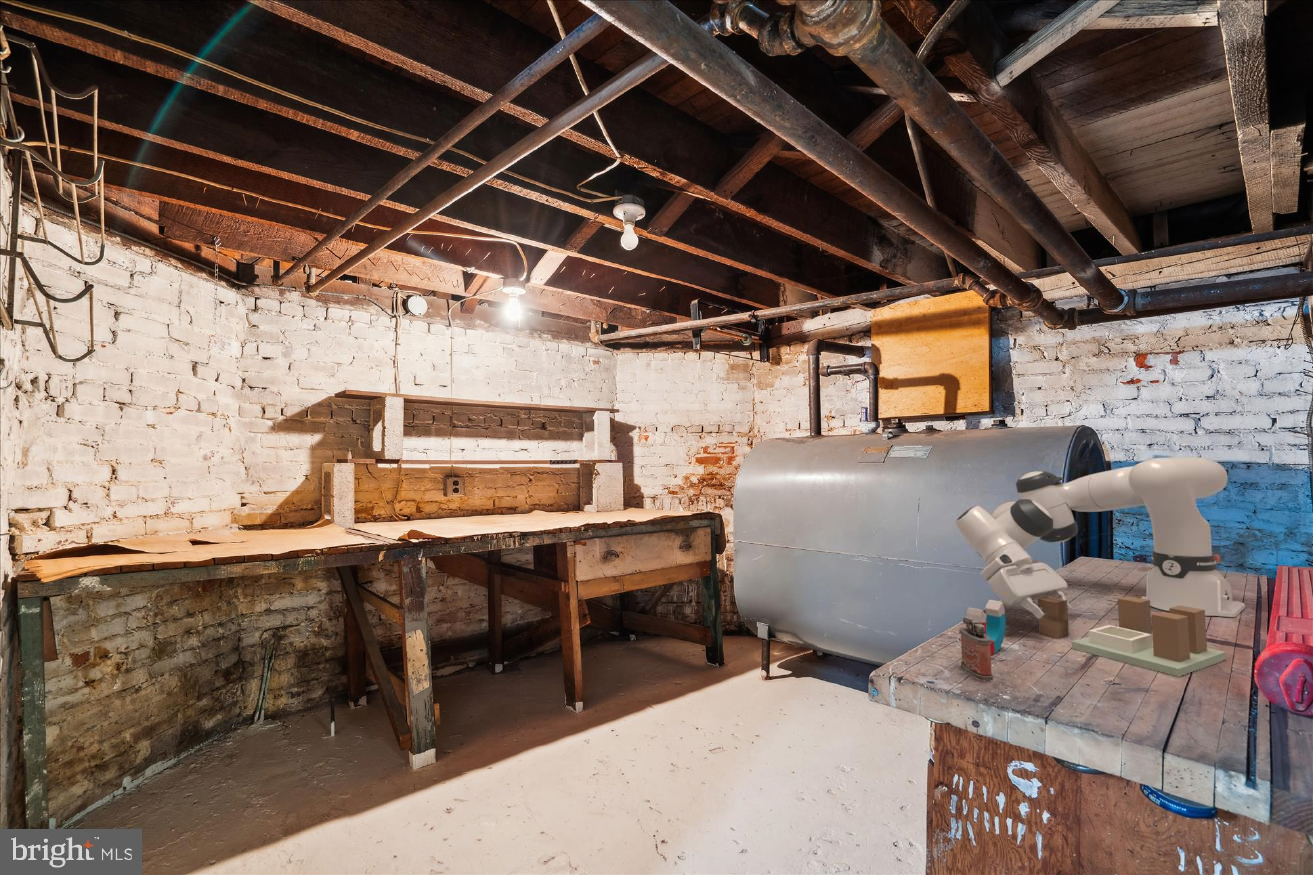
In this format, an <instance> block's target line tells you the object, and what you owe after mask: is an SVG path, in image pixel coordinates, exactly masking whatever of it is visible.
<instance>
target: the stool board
mask: <svg viewBox="0 0 1313 875" xmlns="http://www.w3.org/2000/svg"><path fill="white" fill-rule="evenodd" d="M1117 610H1118V611H1117V612H1118V626H1116V625H1112V624H1111V625H1110V624H1107V625H1103V626H1099V627H1096V628H1092V629H1090V630H1088V636H1087V637H1083V638H1082V637H1081V638H1079V639H1076V640H1072V641H1071V649H1072V650H1076V651H1080V652H1084V653H1088V654H1092V655H1096V656H1099V657H1103V658H1107V659H1109V660H1113V661H1117V662H1120V663H1124V664H1128V665H1132V666H1136V667H1139V668H1143V669H1147V670H1150V669H1152V670H1151V671H1154V670H1156V671H1155V672H1158V671H1160V672H1159V673H1161V672H1164V673H1163V674H1165V673H1168V674H1167V675H1169V674H1170V675H1169V676H1173V675H1175V676H1174V677H1176V676H1178V678H1181V677H1183V676H1182V675H1184V676H1186V675H1188V674H1187V673H1189V674H1191V673H1190V672H1192V673H1194V672H1197V671H1199V669H1200V670H1202V669H1205V668H1208V667H1211V666H1213V665H1215V664H1218V663H1221V662H1223V660H1224V661H1226V660H1227V657H1226V656H1227V655H1226V651H1223V650H1218V649H1214V648H1209V647H1208V643H1207V641H1208V640H1207V624H1206V615H1205V610H1203V609H1197V608H1191V607H1186V606H1180V605H1179V606H1175V607H1172V608H1169V611H1167V612H1166V611H1159V612H1155V613H1152V612H1151V606H1150V600H1146V599H1141V597H1140V598H1139V597H1136V596H1135V597H1133V596H1128V595H1127V596H1123V597H1119V598H1118V597H1117ZM1196 670H1197V671H1196ZM1193 671H1194V672H1193ZM1185 674H1186V675H1185ZM1180 676H1181V677H1180Z"/></svg>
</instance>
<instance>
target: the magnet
mask: <svg viewBox="0 0 1313 875" xmlns="http://www.w3.org/2000/svg"><path fill="white" fill-rule="evenodd" d="M966 610H967V612H966V616H968V617H970V618H972V619H974V620H979V621H980V622H981V624H982V625H983V626H984V629H985V632H984V634H986V635H987V636H988V637H990V638H991V644H990V654H991V655H995V654H997V652H999V651H1000V649H1001V647H1002V644H1003V643H1004V639H1005V632H1006V624H1007V623H1006V621H1007V620H1006V610H1005V607H1004V601H999V600H994V599H989V600H988V601H987V603H986V605H985V607H984V610H985V612H984V611H983V610H982V609H979V608H973V607H967V609H966ZM967 626H968V625H966V624H965V627H967Z"/></svg>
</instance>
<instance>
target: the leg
mask: <svg viewBox="0 0 1313 875" xmlns="http://www.w3.org/2000/svg"><path fill="white" fill-rule="evenodd" d="M1067 603H1068V600H1067V599H1066V600H1063V599H1058V598H1053V597H1051V596H1049V597H1044V598H1039V599H1037V606H1038V607H1039V608H1040V607H1042V608H1043V610H1044V611H1045V612H1046V613H1047V615H1046V616H1044V617H1043V618H1039V619H1038V629H1039V630H1038V631H1039V633H1038V634H1039V635H1041V636H1045V637H1049V638H1052V639H1057V640H1060V639H1063V638H1068V637H1070V634H1069V633H1070V632H1069V614H1068V612H1069V611H1068V610H1067Z"/></svg>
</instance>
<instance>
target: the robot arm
mask: <svg viewBox="0 0 1313 875" xmlns="http://www.w3.org/2000/svg"><path fill="white" fill-rule="evenodd" d="M1228 479H1229V478H1228V473H1227V470H1226V469H1225V468H1224V466H1223V465H1221V464H1220V463H1219V462H1217V461H1215V460H1211V459H1209V458H1204V457H1200V456H1173V457H1172V456H1169V457H1154V458H1151V459H1150V458H1149V459H1148V460H1144V461H1141V462H1139V463H1137V464H1135V465H1133V466H1125V467H1121V468H1114V469H1111V470H1105V471H1101V472H1096V473H1092V474H1088V475H1085V476H1081V477H1078V478H1076V479H1073V480H1071V481H1068V482H1064V483H1062V482H1061V481H1063V480H1064V478H1063V477H1062V476H1059V477H1058V476H1057V475H1055V474H1054V473H1052V472H1048V471H1039V470H1038V471H1036V470H1035V471H1030V472H1027V473H1025V474H1024V475H1022V476H1021V477H1020V478H1018V479H1017V480H1016V482H1015V487H1016V490H1017V491H1016V492H1017V493H1018V494H1019V497H1020V498H1019V499H1018V500H1016V501H1007V502H1004V503H1002V504H1000V505H999V506H998V507H996V508H994V511H992V514H990V513H989V512H988V511H986V510H985V508H983V507H981V506H980V505H976V506H972V507H970V508H968V509H967V510H966V511H964V512H963V513H962V514H961V515H960V516H958V518H957V519H956V521H955V525H956V528H957V529H958V531H959V532H960V533H961V535H962V537H963V539H965V541H966V542H967V544H968V545H969V546H970V547H971V548H972V549H973V550H974V551H975V552H976V553H977V554H978V555H979V556H980V557H981V558H982V559H983V562H984V563H985V564H986V566H985V567H984V569H983V570H981V572H980V573H979V576H980V577H981V578H982V579H983V580H984V581H987V582H988V583H987V584H988V585H989V587H990V588H991V589H992V591H994V593H995V594H996V595H997V596H998V598H1000V600H1002V601H1001V602H1003V603H1005V604H1007V605H1009V606H1012V605H1016V604H1020V606H1022V607H1023V608H1024V609H1025V610H1027V611H1029V612H1030V613H1032V614H1033V615H1034V616H1035V619H1038V620H1039V618H1043V617H1044V616H1046V615H1047V613H1046V612H1045V611H1044V610H1043V608H1042V607H1040V608H1039V607H1038V604H1036V603H1034V602H1033V601H1035V600H1038V599H1039V598H1044V597H1053V598H1058V599H1063V600H1067V598H1066V597H1065V593H1064V591H1066V590H1067V589H1068V587H1069V586H1068V583H1067V582H1066V581H1065V579H1064V578H1063V577H1062V576H1060V575H1059V574H1058V572H1056V571H1055V570H1054V569H1053V568H1052V567H1051V566H1050V565H1048V564H1046V563H1045V562H1040V561H1037V559H1033V558H1032V556H1031V555H1029V553H1028V552H1027V551H1026V549H1027V548H1029V547H1030V546H1031V545H1032V544H1034V543H1035V542H1037V541H1038V540H1041V541H1043V542H1047V543H1056V544H1057V543H1063V542H1067V541H1068V540H1070V539H1072V538H1074V537H1075V536H1077V534H1078V532H1079V530H1078V529H1079V528H1078V524H1077V521H1076V520H1075V518H1074V515H1073V512H1072V511H1076V512H1081V513H1082V512H1085V513H1090V512H1091V513H1094V512H1106V511H1107V512H1108V511H1114V510H1120V509H1121V510H1122V509H1128V508H1135V507H1144V506H1145V507H1146V510H1147V513H1148V516H1149V518H1150V522H1151V528H1152V530H1151V531H1152V538H1153V540H1152V542H1153V550H1152V551H1151V564H1152V565H1153V567H1152V568H1151V569H1149V570H1148V571H1147V572H1146V573H1147V574H1146V595H1145V596H1141V597H1140V598H1141V599H1146V600H1150V607H1153V608H1155V609H1158V610H1161V611H1162V610H1163V611H1165V612H1166V611H1167V612H1170V611H1169V608H1172V607H1175V606H1179V605H1180V606H1186V607H1191V608H1197V609H1203V610H1205V616H1206V617H1207V616H1210V617H1212V616H1213V617H1215V616H1217V617H1224V618H1225V617H1227V618H1236V617H1237V616H1238V615H1239V614H1240V613H1241V612H1242V611H1243V610H1244V609H1245V608H1246V605H1245V604H1246V603H1244V602H1241V601H1238V600H1235V599H1233V593H1232V592H1233V591H1232V585H1231V583H1230V582H1229V581H1227V579H1226V578H1225V577H1224V576H1223V575H1222V574H1221V573H1220V572H1219V571H1218V570H1217V569H1218V565H1217V564H1218V563H1219V562H1220V559H1221V558H1220V555H1219V554H1213V551H1212V533H1211V526H1210V525H1211V524H1210V523H1209V521H1208V520H1207V519H1205V518H1204V517H1203V516H1202V514H1201V512H1200V510H1199V508H1198V506H1197V503H1196V500H1197V499H1198V500H1199V499H1204V498H1207V497H1210V496H1213V495H1215V494H1217V493H1219V492H1221V491H1223V490H1224V488H1226V486H1227V483H1228ZM1072 608H1073V607H1072V606H1071V605H1070V603H1069V602H1067V610H1068V612H1070V611H1071V610H1072Z"/></svg>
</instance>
